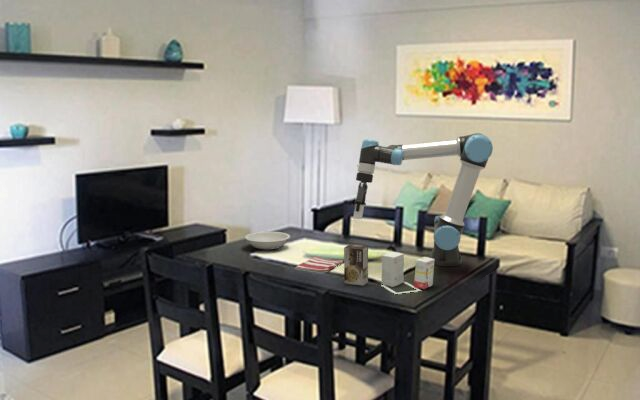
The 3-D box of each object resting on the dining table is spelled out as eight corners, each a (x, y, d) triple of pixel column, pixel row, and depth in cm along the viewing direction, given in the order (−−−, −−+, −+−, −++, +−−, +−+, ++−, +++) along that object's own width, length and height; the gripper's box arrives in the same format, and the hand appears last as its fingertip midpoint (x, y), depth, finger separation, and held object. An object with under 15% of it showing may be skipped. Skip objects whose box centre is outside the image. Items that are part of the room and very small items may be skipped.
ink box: (424, 289, 256) (425, 261, 255) (413, 287, 259) (415, 259, 258) (433, 285, 263) (435, 258, 262) (422, 283, 266) (424, 256, 264)
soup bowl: (288, 254, 317) (288, 241, 316) (242, 254, 318) (241, 241, 316) (291, 243, 341) (291, 231, 340) (248, 243, 341) (248, 231, 340)
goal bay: (406, 282, 267) (406, 281, 267) (421, 291, 255) (421, 290, 255) (380, 285, 263) (380, 284, 263) (395, 294, 251) (395, 293, 251)
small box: (391, 280, 271) (391, 251, 269) (403, 282, 267) (404, 253, 265) (380, 284, 265) (381, 254, 263) (393, 287, 261) (393, 257, 259)
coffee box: (368, 282, 268) (368, 245, 266) (363, 286, 263) (363, 249, 260) (349, 279, 272) (349, 243, 270) (343, 283, 266) (343, 247, 264)
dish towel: (346, 262, 302) (346, 257, 302) (326, 274, 282) (326, 269, 281) (315, 258, 310) (315, 253, 309) (293, 270, 289) (293, 265, 288)
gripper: (359, 173, 298) (352, 217, 298) (354, 170, 273) (346, 217, 273) (375, 176, 296) (367, 219, 296) (371, 172, 272) (363, 220, 272)
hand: (357, 218), depth 285 cm, fingers open, 13 cm apart
